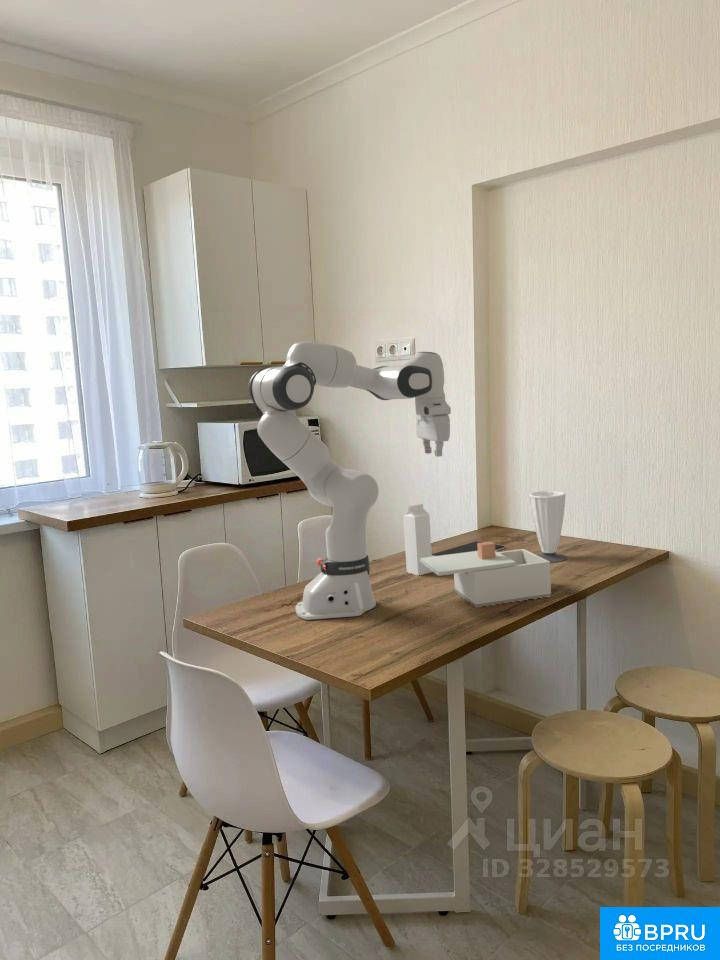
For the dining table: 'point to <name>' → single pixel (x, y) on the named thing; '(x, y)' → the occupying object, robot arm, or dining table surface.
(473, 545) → the smartphone
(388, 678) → the dining table surface
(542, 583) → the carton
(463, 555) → the lid
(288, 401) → the robot arm
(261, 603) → the dining table surface
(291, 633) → the dining table surface
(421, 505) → the milk
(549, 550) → the cup
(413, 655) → the dining table surface
